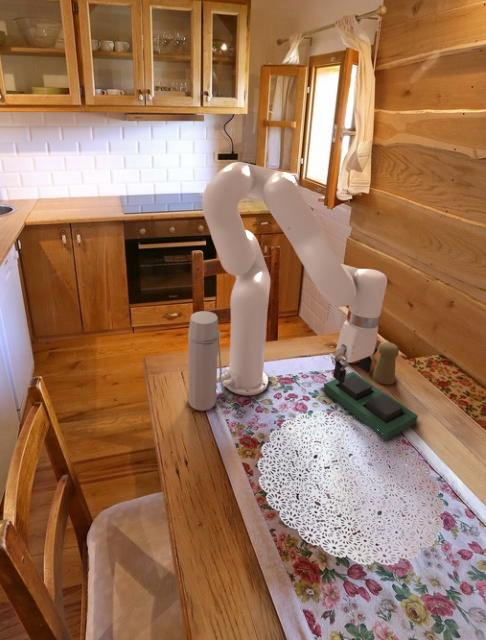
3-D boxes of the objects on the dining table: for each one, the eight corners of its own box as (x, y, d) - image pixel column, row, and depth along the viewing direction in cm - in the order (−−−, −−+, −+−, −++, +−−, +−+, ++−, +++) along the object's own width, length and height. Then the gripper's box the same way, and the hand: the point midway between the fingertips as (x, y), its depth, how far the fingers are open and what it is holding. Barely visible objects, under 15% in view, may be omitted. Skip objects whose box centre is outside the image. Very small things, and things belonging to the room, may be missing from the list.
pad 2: (384, 429, 98) (386, 415, 97) (364, 414, 103) (366, 401, 101) (399, 420, 101) (402, 407, 100) (379, 406, 106) (382, 393, 104)
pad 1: (354, 406, 105) (356, 393, 104) (337, 393, 110) (338, 381, 109) (369, 399, 108) (372, 386, 107) (352, 386, 113) (354, 374, 112)
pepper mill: (391, 372, 120) (397, 339, 116) (397, 385, 114) (404, 351, 110) (370, 370, 120) (375, 338, 117) (375, 383, 115) (381, 349, 111)
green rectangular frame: (386, 440, 95) (388, 432, 94) (323, 391, 111) (324, 383, 110) (416, 423, 100) (418, 415, 99) (352, 378, 116) (353, 371, 116)
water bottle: (197, 417, 100) (198, 328, 92) (182, 399, 106) (182, 314, 98) (228, 404, 105) (231, 318, 97) (212, 387, 111) (214, 305, 103)
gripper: (373, 305, 109) (362, 359, 115) (327, 318, 100) (317, 376, 106) (397, 317, 103) (384, 374, 109) (350, 332, 94) (338, 393, 100)
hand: (351, 375), depth 108 cm, fingers open, 9 cm apart
